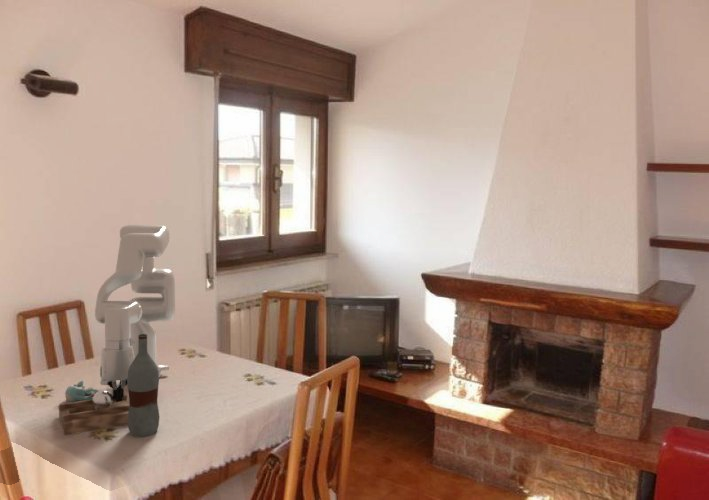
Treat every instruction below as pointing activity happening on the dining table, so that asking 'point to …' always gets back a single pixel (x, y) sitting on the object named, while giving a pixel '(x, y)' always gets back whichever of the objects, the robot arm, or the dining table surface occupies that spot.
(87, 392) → the stuffed animal
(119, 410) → the wooden box
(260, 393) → the dining table surface
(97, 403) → the steel ball
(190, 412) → the dining table surface
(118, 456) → the dining table surface
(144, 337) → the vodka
